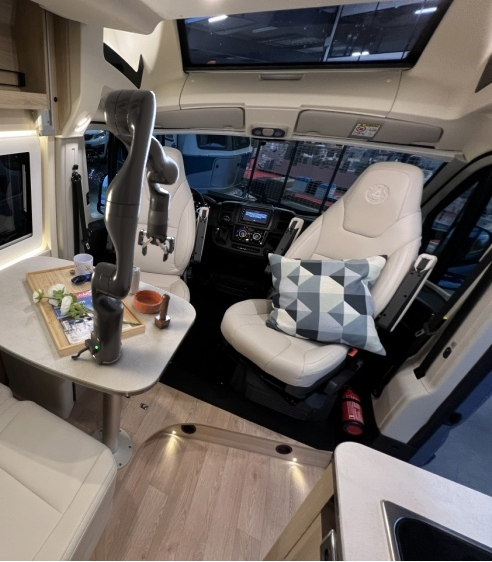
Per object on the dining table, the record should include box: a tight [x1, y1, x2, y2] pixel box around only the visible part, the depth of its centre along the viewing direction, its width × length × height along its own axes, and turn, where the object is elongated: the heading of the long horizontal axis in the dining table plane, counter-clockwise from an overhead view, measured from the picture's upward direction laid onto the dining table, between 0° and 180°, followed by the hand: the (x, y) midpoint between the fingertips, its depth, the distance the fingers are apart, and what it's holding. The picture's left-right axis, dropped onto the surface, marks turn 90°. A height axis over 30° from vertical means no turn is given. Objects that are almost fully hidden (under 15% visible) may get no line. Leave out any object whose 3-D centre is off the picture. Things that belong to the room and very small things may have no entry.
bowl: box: [132, 289, 163, 315], centre depth 122 cm, size 12×12×4 cm
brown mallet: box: [153, 293, 172, 330], centre depth 109 cm, size 5×4×14 cm
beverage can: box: [128, 265, 142, 295], centre depth 130 cm, size 6×6×12 cm
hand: (154, 257), depth 114 cm, fingers open, 8 cm apart
